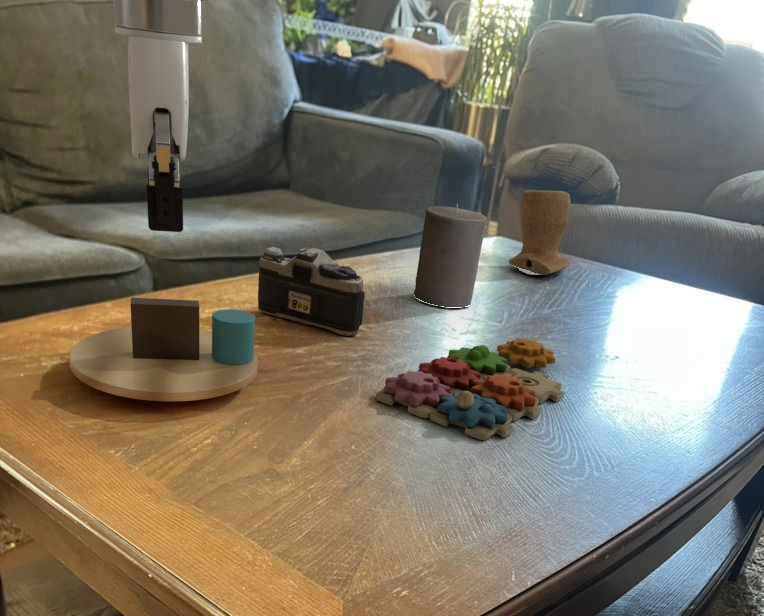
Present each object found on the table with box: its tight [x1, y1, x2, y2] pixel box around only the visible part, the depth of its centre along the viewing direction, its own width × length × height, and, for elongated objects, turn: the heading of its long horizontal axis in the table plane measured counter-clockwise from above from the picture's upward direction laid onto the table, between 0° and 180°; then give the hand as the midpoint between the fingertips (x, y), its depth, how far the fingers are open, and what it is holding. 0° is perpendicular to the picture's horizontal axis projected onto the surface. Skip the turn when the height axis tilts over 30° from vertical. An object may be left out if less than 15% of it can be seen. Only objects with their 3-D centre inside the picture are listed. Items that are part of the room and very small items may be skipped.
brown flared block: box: [508, 189, 572, 276], centre depth 150 cm, size 15×12×15 cm
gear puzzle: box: [374, 337, 565, 441], centre depth 96 cm, size 31×16×4 cm, turn 146°
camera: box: [257, 245, 366, 337], centre depth 109 cm, size 16×10×10 cm, turn 65°
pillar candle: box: [413, 203, 488, 307], centre depth 123 cm, size 10×10×15 cm
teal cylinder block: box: [211, 309, 256, 365], centre depth 86 cm, size 5×5×5 cm
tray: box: [68, 297, 259, 402], centre depth 84 cm, size 20×20×7 cm
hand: (165, 219), depth 78 cm, fingers open, 9 cm apart
